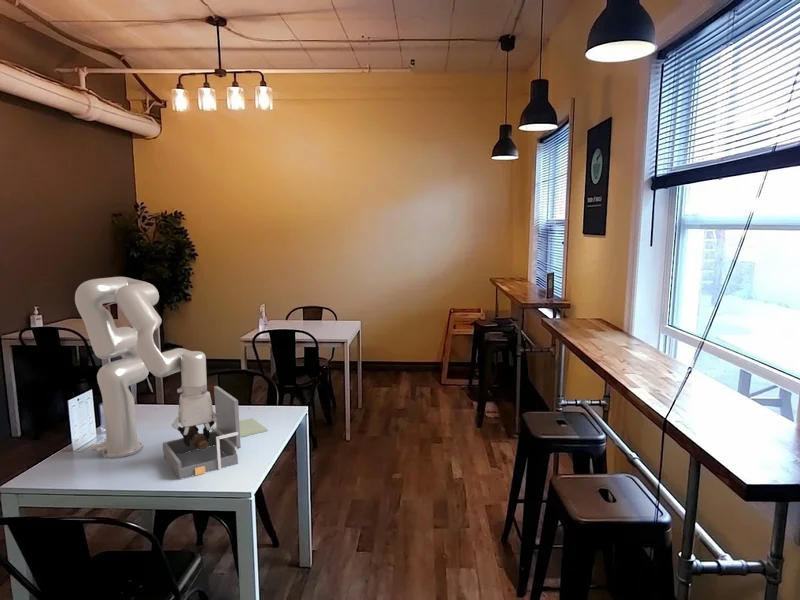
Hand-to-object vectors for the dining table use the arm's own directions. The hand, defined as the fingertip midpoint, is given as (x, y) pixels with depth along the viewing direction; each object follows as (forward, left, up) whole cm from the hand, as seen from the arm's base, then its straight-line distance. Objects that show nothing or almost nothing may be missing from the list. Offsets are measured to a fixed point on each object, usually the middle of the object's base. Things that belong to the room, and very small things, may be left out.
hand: (196, 442), depth 175 cm
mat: (+21, +18, -6) cm, 28 cm away
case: (+1, -1, -6) cm, 6 cm away
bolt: (0, +1, -1) cm, 1 cm away
